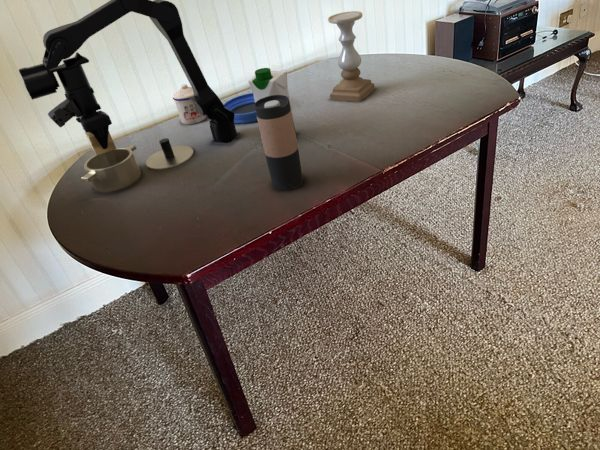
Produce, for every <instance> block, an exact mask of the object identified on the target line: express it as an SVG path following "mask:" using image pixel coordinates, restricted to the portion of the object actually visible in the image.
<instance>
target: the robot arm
mask: <svg viewBox="0 0 600 450" xmlns="http://www.w3.org/2000/svg"><path fill="white" fill-rule="evenodd" d="M129 13H135V14H138V15H142V16H146V17H148V18H149V19H150V21H151V22H152V23H153V25H154V26H155V27H156V28H157V30H158V31H159V33H161V35H162V36H163V37H164V39H166V40H167V42H168V44H169V46H170V48H171V50H172V51H173V54H174V55H175V57H176V60H177V61H178V63H179V65H180V67H181V69H182V72H183V73H184V75H185V77H186V79H187V81H188V83H189V85H190V87H192V89H193V93H194V96H193V97H190V100H191V101H192V102H193V104H194V106H195V110H196V111H198V112H199V113H201V114H202V115H204V116H206V118H207V119H209V129H210V132H211V136H212V142H213V143H218V144H219V143H220V144H230V143H232V142H233V141H234V140H235V139H236V138H237V137H238V136H240V135H241V133H240V132H237V128H236V123H234V115H235V114H234V113H233V112H231V111H230V110H228V109H226V108H225V107H224V103H223V101H222V100H221V99H220V97H219V96H218V95H217V93H216V92H215V91H214V90H213V89H212V87H210V85H209V84H208V81H207V79H206V78H205V76H204V73H203V72H202V69H201V67H200V65H199V63H198V62H197V59H196V58H195V57H196V56H194V54H193V51H192V49H191V47H190V45H189V43H188V40H187V39H186V37H185V33H184V27H183V22H182V18H181V15H180V12H179V9H178V7H177V6H176V4H175V3H173V2H171V1H169V0H108V1H107V2H105V3H104V4H102V5H100V6H99V7H97V8H95V9H94V10H93V11H91V12H89V13H87V14H86V15H84V16H83V17H81V18H79V19H77V20H76V21H73V22H69V23H66V24H62V25H60V26H57V27H54V28H51V29H49V30H47V31H46V32H45V33H44V35H43V37H42V44H43V47H44V49H45V50H44V53H43V57H42V63H39V64H35V65H32V66H28V67H21V68H18V72H19V75H20V76H21V79H22V81H23V84H24V87H25V89H26V91H27V92H28V95H29V97H30V99H31V100H36V99H40V98H42V97H43V98H44V97H46V96H49V95H53V94H56V93H58V92H57V90H59V88H60V87H61V85H60V84H59V81H58V80H60V83H61V84H62V88H63V89H64V97H65V99H64V100H63V101H61V102H60V103H59V104H57V105H56V106H55V107H54V108H52V109H50V111H48V113H47V116H48V117H49V119H51V120H52V122H54V123H55V124H56V126H58V127H59V128H62V127H64V126H66V124H67V122H69V121H70V120H72V119H73V118H75V120H76V121H77V123H79V124H80V125H81V127H82V130H83V131H84V133H85V132H90V133H92V134H93V135H94V137H95V138H96V139H97V141H98V142H99V144H100V145H101V147H102V148H103V149H107V148H108V130H109V129H110V126H111V125H112V124H113V123H112V120H111V117H110V115H109V114H108V113H107V112H106V111H103V110H102V107H101V105H100V104H99V103H98V101H97V98H96V96H95V91H94V88H93V87H92V86H91V84H90V82H89V79H88V77H87V75H86V72H85V70H84V67H83V65H85V64H88V63H90V59H89V58H87V57H86V56H84V55H81V54H80V53H79V52H77V51H78V50H79V49H80V48H81V47H82V46H83V45H84V44H85V43H86V41H87V40H88V39H89V38H90V37H92V36H94V35H95V34H97V33H99V32H100V31H102V30H103V29H105V28H107V27H108V26H110V25H112V24H113V23H114V22H116V21H118V20H120V19H121V18H123V17H124V16H126V15H127V14H129ZM74 54H75V55H74ZM73 55H74V57H72V56H73ZM61 63H62V64H61ZM55 73H56V74H57V76H58V78H57V77H56V75H55Z"/></svg>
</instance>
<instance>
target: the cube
mask: <svg viewBox="0 0 600 450" xmlns="http://www.w3.org/2000/svg"><path fill="white" fill-rule="evenodd" d="M84 134H85V136H86V138H87V140H88V143H89V145H90V147H91V149H92V151H93V153H94V155H97V156H98V155H100V154H103V153H106V152H108V151H111V150H114V149H116V148H117V147H116V145H115V142H114V140H113V138H112V135H111V133H110V131H109V130H108V148H107V149H103V148H102V147H101V145H100V144H99V142H98V141H97V139H96V138H95V137H94V135H93V134H92V133H90V132H85V131H84Z"/></svg>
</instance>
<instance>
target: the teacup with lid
mask: <svg viewBox="0 0 600 450" xmlns="http://www.w3.org/2000/svg"><path fill="white" fill-rule="evenodd" d="M193 96H194V93H193V89H192V87H191V86H188V84H186V83H184V84H181V86H180V89H178V91H176V92H174V94H173V95H172V100H174V101H173V102H174V104H175V107H176V110H177V112H178V113H177V114H178V116H179V120H180V122H181V124H183V125H194V124H198V123H201V122H202V121H204V120H205V119H206V118H207V117H206V116H204V115H202V114H201V113H199V112H198V111H196V110H195V106H194V104H193V102H192V101H191V100H190V97H193Z"/></svg>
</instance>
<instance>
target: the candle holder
mask: <svg viewBox="0 0 600 450" xmlns="http://www.w3.org/2000/svg"><path fill="white" fill-rule="evenodd" d="M362 18H363V12H362V11H359V10H358V11H357V10H356V11H353V10H352V11H351V10H350V11H342V12H339V13H336V14H333V15H330V16H328V18H327V21H328V23H329V24H333V25H336V26H337V28H338V29H339V30H340V35H339V37H338V41H339V42H340V45H341V46H342V48H341V51H340V54H339V55H338V59H337V66H338V67H339V69H341V70H342V71H341V73H340V77H341V78H342V79H341V80H340V81H339V83H337V84H336V85H335V86H333V88H332V91H331V92H330V93H329V99H330V100H331V101H340V102H341V101H343V102H356V103H357V102H358V103H359V102H362V101H363V100H365V99H366V98H367V97H368V96H369V95H370V94H372V93H373V92H374V91H375V89H376V87H375V83H373V82H372V80H371V79H367V78H363V77H361V70H360V68H359V67H360V66H361V64H362V57H361V54H360V53H359V52H358V51H357V50H356V48H355V46H354V43H355V41H356V39H357V36H356V35H355V33H354V31H353V28H354V25H355V23H356V21H358V20H361V19H362Z"/></svg>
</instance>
